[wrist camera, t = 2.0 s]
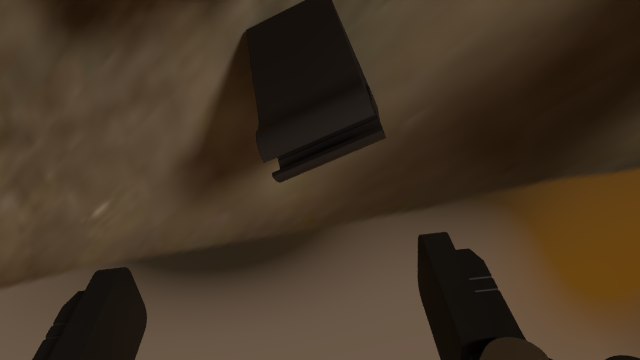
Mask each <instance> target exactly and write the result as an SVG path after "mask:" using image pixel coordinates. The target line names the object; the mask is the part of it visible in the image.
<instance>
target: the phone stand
mask: <svg viewBox="0 0 640 360" xmlns="http://www.w3.org/2000/svg"><path fill="white" fill-rule="evenodd" d="M246 32H247V40H248V47H249V54H250V61H251V68H252V75H253V82H254V89H255V96H256V103H257V111H258V118H259V126H258V130H257V131H256V142H257V146H258V150H259V153H260V155H261V158H262V160H263V162H264V163H265V162H267V161H269V160H271V159H274V158H276V157H277V158H278V162H279V166H280V170H278V171H275V172H273V173H272V177H273V178H274V179H275V180H276V181H277V182H283V181H285V180H288V179H290V178H292V177H295V176H297V175H299V174H302V173H304V172H306V171H309V170H311V169H314V168H316V167H318V166H321V165H323V164H325V163H328V162H330V161H333V160H335V159H337V158H340V157H342V156H344V155H347V154H349V153H351V152H354V151H356V150H359V149H361V148H363V147H366V146H368V145H370V144H373V143H375V142H378V141H380V140H382V139H385V138H386V137H385V134H384V131H383V128H382V126H381V123H380V119H379V113H378V107H377V105H376V102H375V100H374V97H373V95H372V93H371V90H370V88H369V86H368V83H367V81H366V79H365V76H364V74H363V72H362V69H361V67H360V65H359V62H358V60H357V58H356V55H355V53H354V51H353V48H352V46H351V44H350V41H349V39H348V37H347V34H346V32H345V30H344V27H343V25H342V23H341V20H340V18H339V16H338V13H337V11H336V9H335V6H334V4H333V2H332V0H305V1H303V2H301V3H299V4H297V5H295V6H293V7H291V8H289V9H287V10H285V11H283V12H281V13H279V14H277V15H275V16H273V17H271V18H269V19H267V20H265V21H263V22H261V23H259V24H257V25H255V26H253V27H251V28H249V29H247V30H246Z"/></svg>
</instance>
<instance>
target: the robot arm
mask: <svg viewBox="0 0 640 360" xmlns="http://www.w3.org/2000/svg"><path fill="white" fill-rule="evenodd" d="M418 286H419V292H420V296H421V300H422V303H423V306H424V309H425V313H426V316H427V319H428V321H429V325H430V328H431V331H432V334H433V337H434V340H435V343H436V346H437V349H438V353H439V356H440V359H441V360H552V359H550V358H548V357H547V355H546V354H545V353H544V352H543V351H542V350H541V349H540V348H538V347H537V346H535V345H534V344H532V343H530V342H528V341H527V340H526V339H525V337H524V336H523V334H522V332H521V330H520V328H519V326H518V324H517V323H516V321H515V319H514V317H513V315H512V313H511V311H510V309H509V308H508V306H507V304H506V302H505V300H504V298H503V296H502V294H501V292H500V291H498V287H497V285H496V283H495V281H494V279H493V278H492V277H491V274H490V272H489V270H488V268H487V266H486V264H485V262H484V260H482V259H481V258H480V257H479V256H477V255H476V254H475V253H474V252H473V251H471V250H470V249H460V250H455V248H454V246H453V243H452V241H451V239H450V237H449V235H448V233H446V232H441V233H432V234H423V235H419V237H418ZM146 322H147V313H146V308H145V305H144V302H143V300H142V298H141V295H140V293H139V290H138V288H137V286H136V283H135V281H134V279H133V276H132V274H131V272H130V270H129V269H128V268H126V267H123V268H114V269H105V270H98V271H97V272H95V274H94V275H93V277H92V279H91V280H90V283H89V284H88V286H87V288H86V290H85V291H78V292H77V293H76V294H75V295H74V296H73V297H72V298H71V299H70V300H69V301H68V302H67V303H66V304H65V305H64V306H63V307H62V309H61V310H60V312H59V314H58V316H57V317H56V319H55V321H54V323H53V324H54V325H53V326H52V327H51V328H50V330H49V331H48V333H47V335H46V340H44V341H43V342H42V344H41V345H40V347H39V349H38V351H37V352H36V354H35V356H34V358H33V359H32V360H135V357H136V354H137V352H138V348H139V346H140V343H141V340H142V337H143V334H144V331H145V328H146ZM606 360H640V359H639V358H636V357H632V356H622V355H619V356H613V357H609V358H607V359H606Z"/></svg>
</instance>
